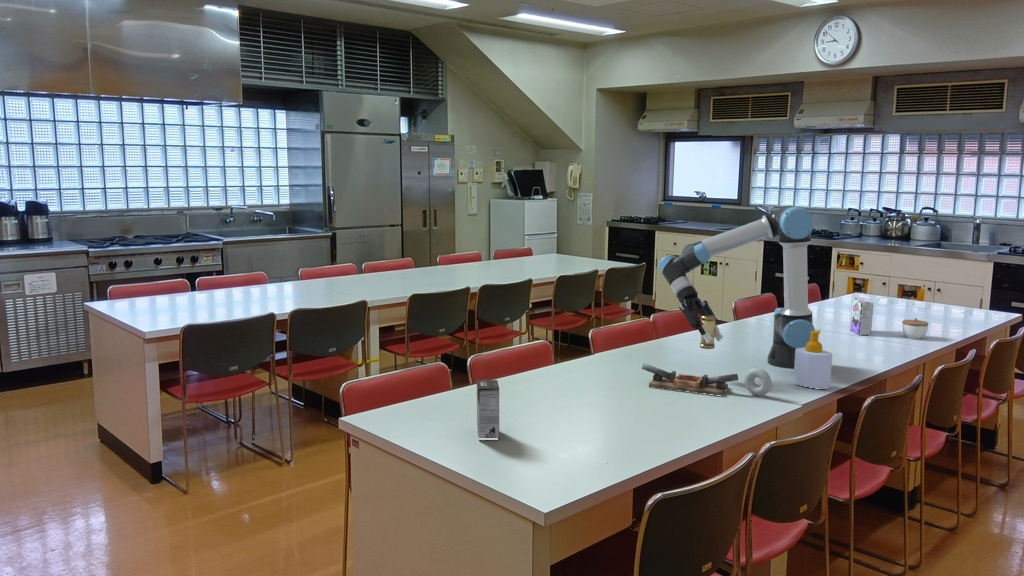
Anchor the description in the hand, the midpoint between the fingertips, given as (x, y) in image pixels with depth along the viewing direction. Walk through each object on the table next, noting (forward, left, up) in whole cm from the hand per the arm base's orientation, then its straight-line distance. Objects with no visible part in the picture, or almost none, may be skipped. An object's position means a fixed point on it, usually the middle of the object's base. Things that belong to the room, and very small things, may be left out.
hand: (715, 340), depth 279 cm
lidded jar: (-70, -115, -16) cm, 136 cm away
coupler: (+3, -2, -3) cm, 5 cm away
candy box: (-47, -116, -16) cm, 126 cm away
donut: (-18, +12, -16) cm, 27 cm away
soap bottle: (-34, -9, -16) cm, 38 cm away
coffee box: (+48, +89, -16) cm, 102 cm away
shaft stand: (+6, +13, -16) cm, 21 cm away
